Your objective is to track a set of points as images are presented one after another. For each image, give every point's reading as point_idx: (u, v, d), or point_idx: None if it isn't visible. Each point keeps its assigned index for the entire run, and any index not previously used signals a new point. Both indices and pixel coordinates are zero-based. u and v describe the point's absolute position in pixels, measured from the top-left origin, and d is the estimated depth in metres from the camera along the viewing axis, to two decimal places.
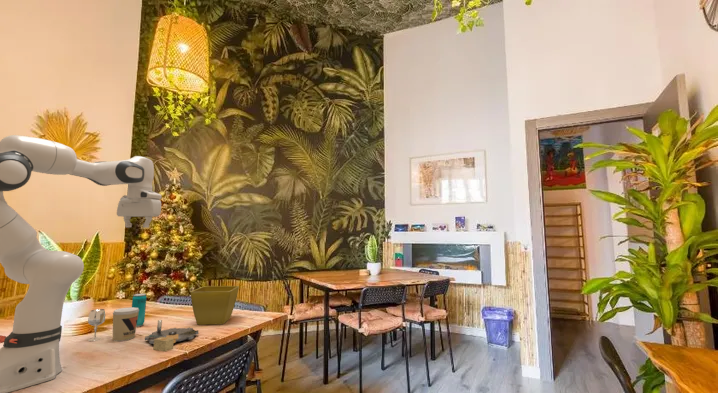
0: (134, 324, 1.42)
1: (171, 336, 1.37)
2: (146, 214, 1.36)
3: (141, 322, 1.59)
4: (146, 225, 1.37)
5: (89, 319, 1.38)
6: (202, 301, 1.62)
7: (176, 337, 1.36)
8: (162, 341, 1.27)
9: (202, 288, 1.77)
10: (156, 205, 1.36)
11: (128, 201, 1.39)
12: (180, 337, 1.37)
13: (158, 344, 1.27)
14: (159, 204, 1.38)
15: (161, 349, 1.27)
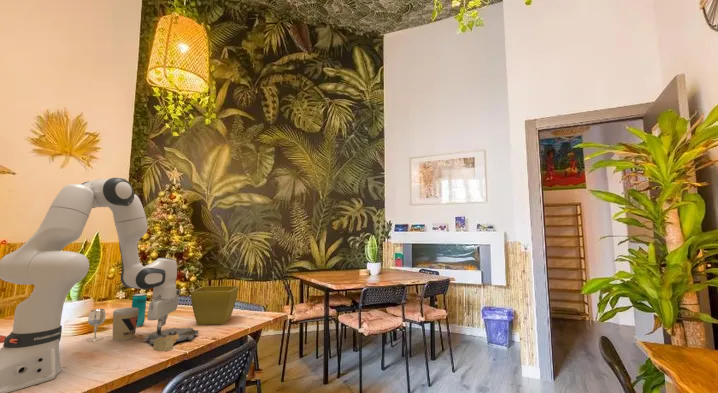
0: (134, 324, 1.42)
1: (171, 336, 1.37)
2: (173, 309, 1.53)
3: (141, 322, 1.59)
4: None
5: (89, 319, 1.38)
6: (202, 301, 1.62)
7: (176, 337, 1.36)
8: (162, 341, 1.27)
9: (202, 288, 1.77)
10: None
11: (164, 302, 1.44)
12: (180, 337, 1.37)
13: (158, 344, 1.27)
14: None
15: (161, 349, 1.27)
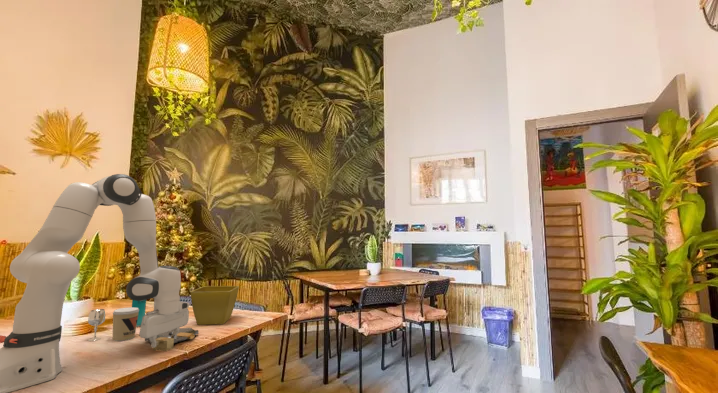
0: (134, 324, 1.42)
1: (181, 334, 1.40)
2: (181, 325, 1.36)
3: (141, 322, 1.59)
4: None
5: (89, 319, 1.38)
6: (202, 301, 1.62)
7: (189, 333, 1.41)
8: (163, 341, 1.27)
9: (202, 288, 1.77)
10: None
11: (161, 317, 1.27)
12: (191, 333, 1.43)
13: (158, 344, 1.27)
14: None
15: (162, 349, 1.27)
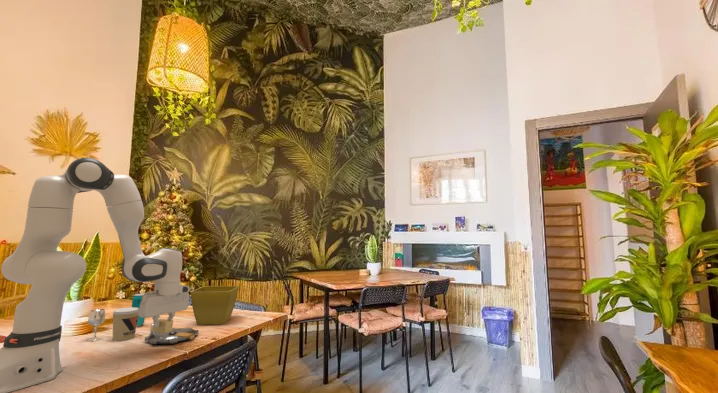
0: (134, 324, 1.42)
1: (181, 334, 1.40)
2: (181, 309, 1.35)
3: (141, 322, 1.59)
4: None
5: (89, 319, 1.38)
6: (202, 301, 1.62)
7: (189, 333, 1.41)
8: (162, 322, 1.27)
9: (202, 288, 1.77)
10: None
11: (161, 298, 1.26)
12: (191, 333, 1.43)
13: None
14: None
15: (160, 330, 1.26)
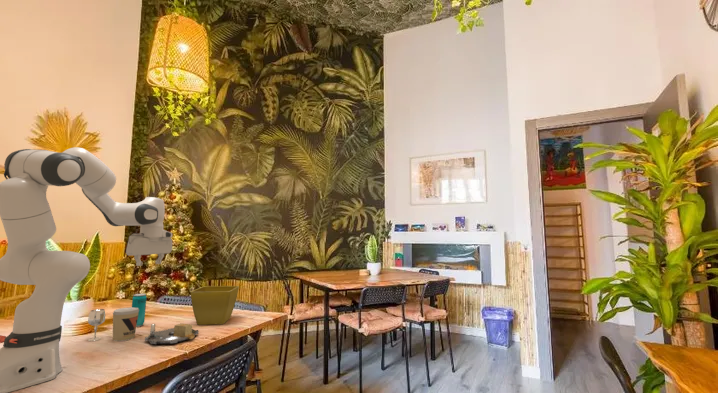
0: (134, 324, 1.42)
1: None
2: (165, 252, 1.52)
3: (141, 322, 1.59)
4: None
5: (89, 319, 1.38)
6: (202, 301, 1.62)
7: None
8: (182, 327, 1.38)
9: (202, 288, 1.77)
10: None
11: (146, 240, 1.43)
12: None
13: (178, 329, 1.38)
14: None
15: (181, 334, 1.38)
